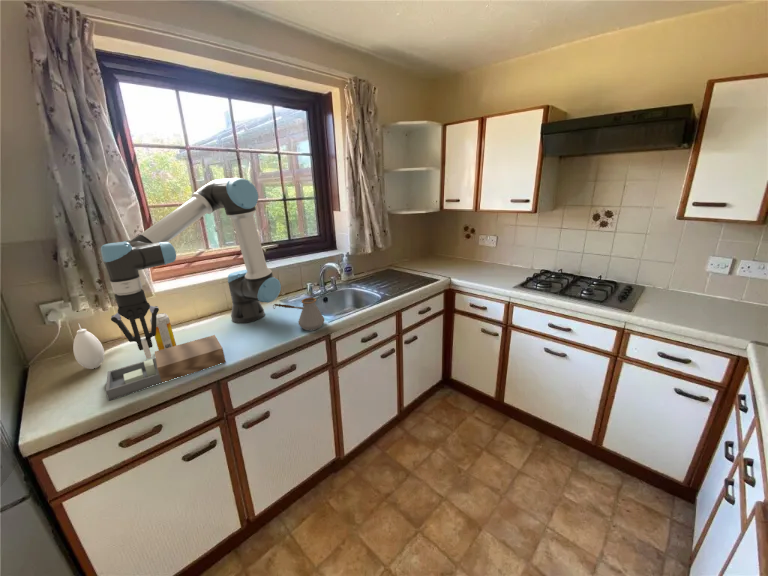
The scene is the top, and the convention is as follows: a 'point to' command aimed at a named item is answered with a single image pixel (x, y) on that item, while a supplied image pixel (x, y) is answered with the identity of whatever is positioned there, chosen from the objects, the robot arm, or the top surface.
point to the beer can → (164, 332)
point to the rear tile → (150, 367)
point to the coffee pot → (308, 314)
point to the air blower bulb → (87, 349)
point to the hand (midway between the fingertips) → (148, 356)
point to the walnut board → (189, 358)
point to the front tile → (133, 376)
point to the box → (119, 388)
